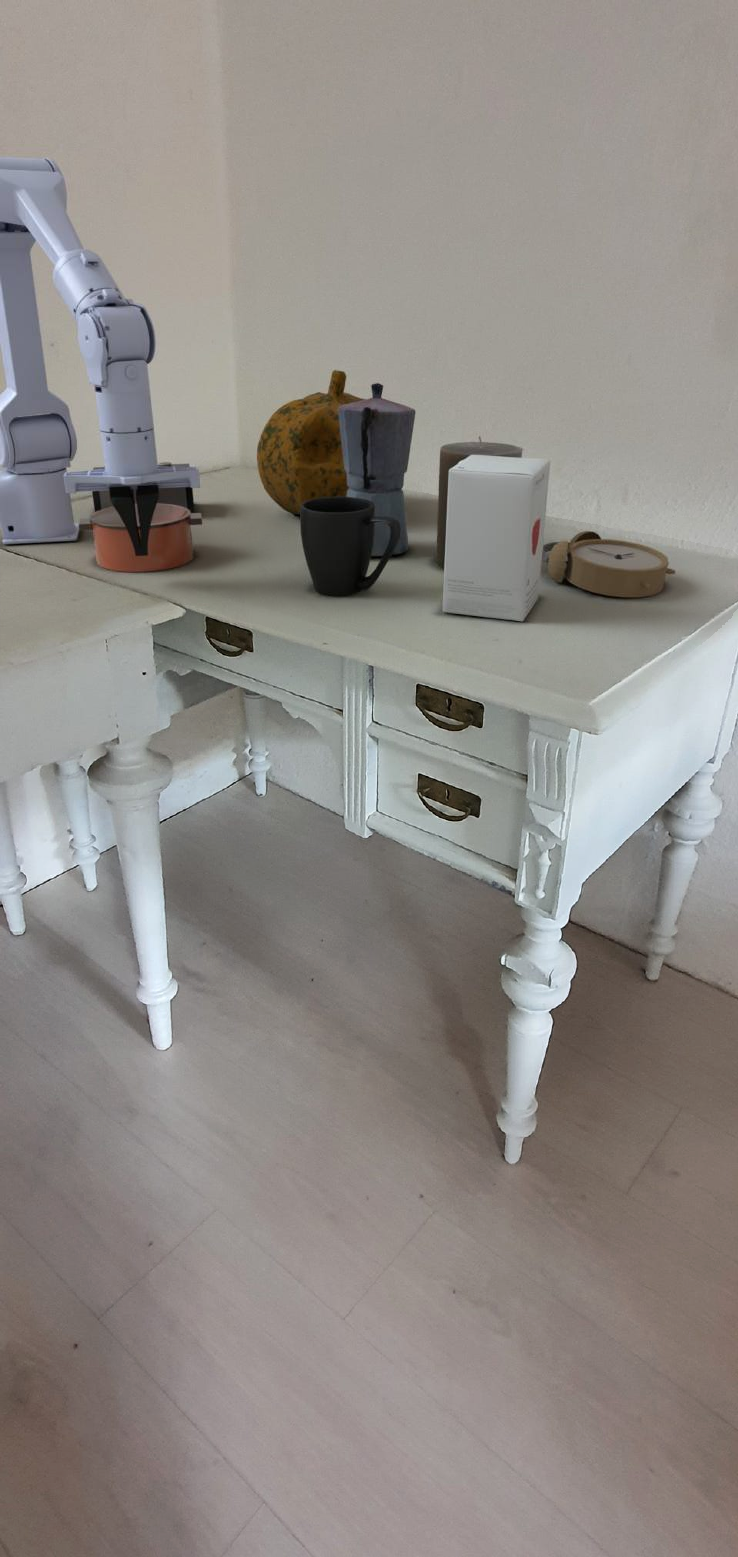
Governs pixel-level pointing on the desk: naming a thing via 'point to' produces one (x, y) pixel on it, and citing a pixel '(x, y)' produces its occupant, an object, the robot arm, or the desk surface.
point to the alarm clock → (607, 565)
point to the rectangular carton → (495, 536)
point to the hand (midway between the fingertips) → (141, 553)
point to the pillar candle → (448, 459)
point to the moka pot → (378, 459)
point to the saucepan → (164, 541)
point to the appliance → (166, 495)
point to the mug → (342, 543)
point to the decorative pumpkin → (305, 448)
